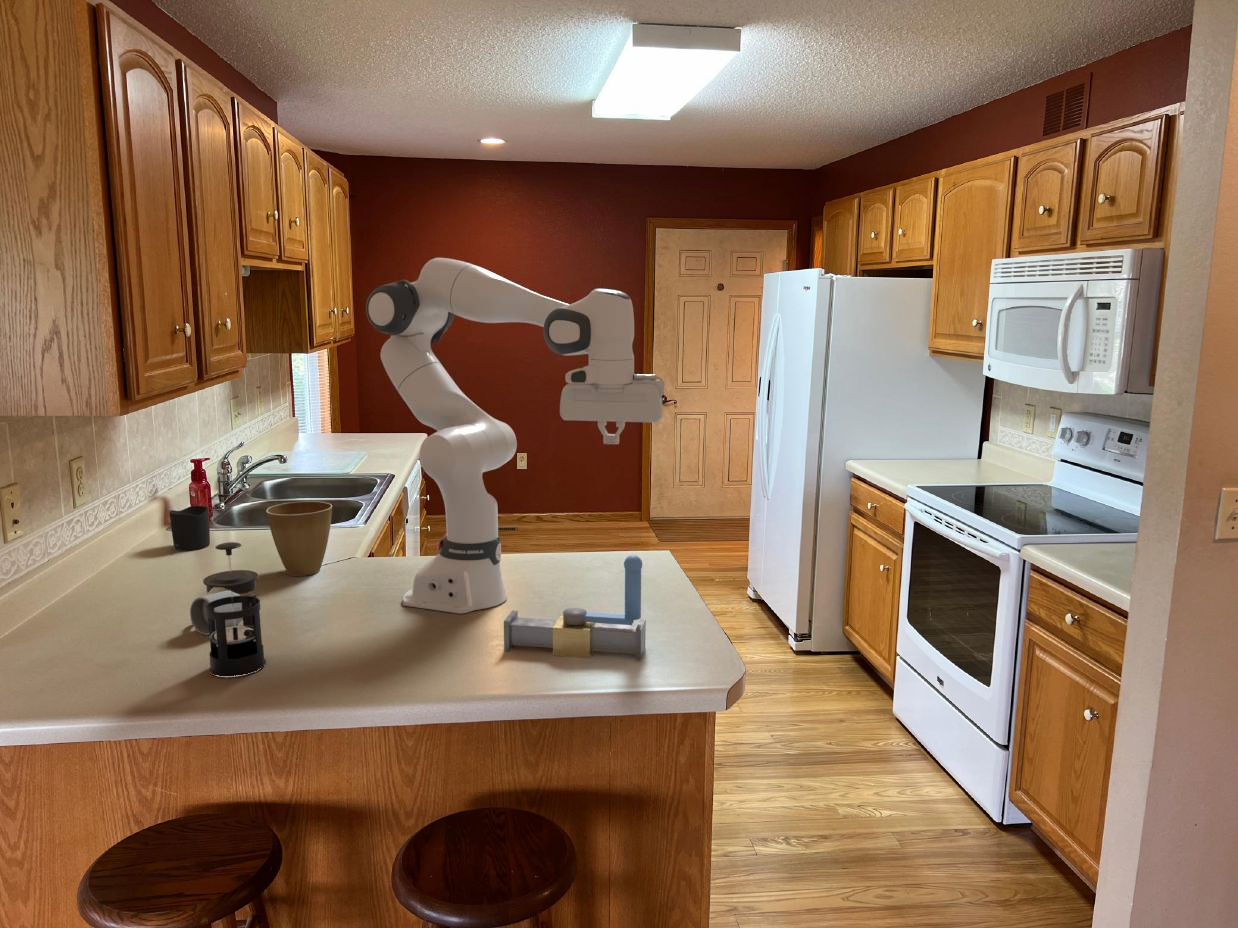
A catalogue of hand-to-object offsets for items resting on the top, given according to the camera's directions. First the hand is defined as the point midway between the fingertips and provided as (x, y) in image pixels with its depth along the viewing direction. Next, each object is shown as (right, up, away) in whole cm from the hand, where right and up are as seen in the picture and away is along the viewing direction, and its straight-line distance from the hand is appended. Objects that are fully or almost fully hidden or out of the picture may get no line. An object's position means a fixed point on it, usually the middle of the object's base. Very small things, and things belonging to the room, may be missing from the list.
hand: (611, 443), depth 179 cm
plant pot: (-75, -30, +39) cm, 90 cm away
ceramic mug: (-80, -37, +3) cm, 88 cm away
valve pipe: (-7, -39, -8) cm, 41 cm away
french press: (-67, -41, -16) cm, 80 cm away
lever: (-2, -34, -10) cm, 35 cm away
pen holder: (-111, -26, +61) cm, 130 cm away
